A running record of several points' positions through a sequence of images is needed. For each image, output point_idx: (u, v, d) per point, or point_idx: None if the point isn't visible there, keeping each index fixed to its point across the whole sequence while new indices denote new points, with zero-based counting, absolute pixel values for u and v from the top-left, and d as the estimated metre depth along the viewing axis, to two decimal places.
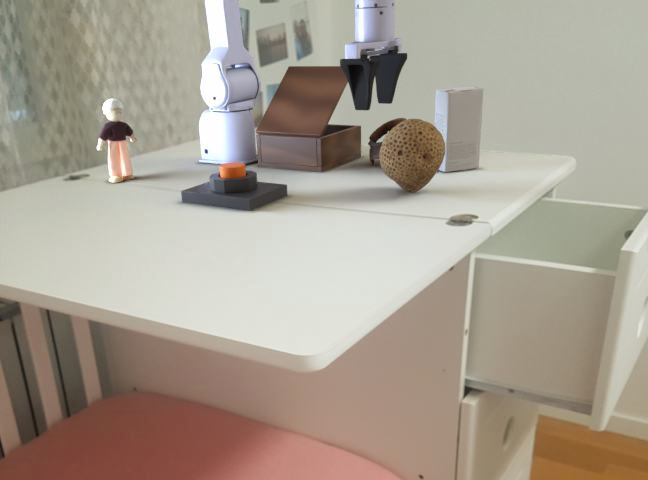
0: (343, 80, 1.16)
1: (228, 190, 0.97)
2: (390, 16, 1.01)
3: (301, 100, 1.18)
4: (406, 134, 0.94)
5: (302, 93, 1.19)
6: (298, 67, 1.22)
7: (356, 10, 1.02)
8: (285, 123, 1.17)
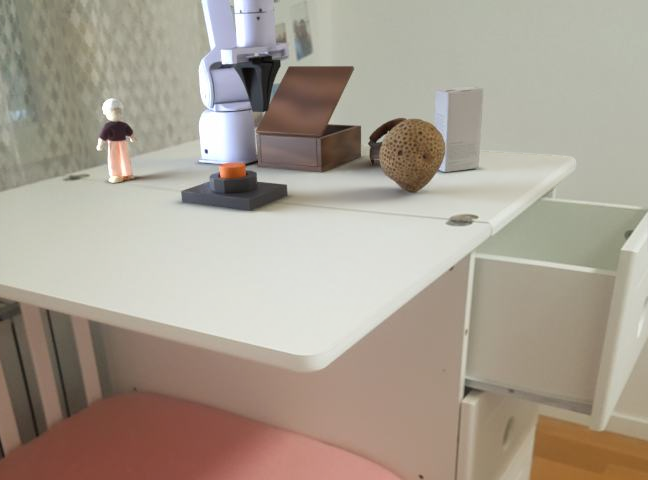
0: (343, 80, 1.16)
1: (228, 190, 0.97)
2: (268, 22, 1.01)
3: (301, 100, 1.18)
4: (406, 134, 0.94)
5: (302, 93, 1.19)
6: (298, 67, 1.22)
7: (235, 15, 1.02)
8: (285, 123, 1.17)
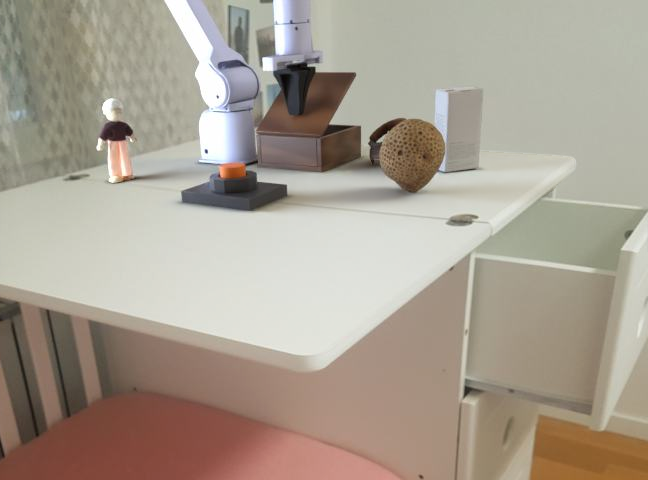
0: (345, 85, 1.17)
1: (228, 190, 0.97)
2: (305, 32, 1.10)
3: None
4: (406, 134, 0.94)
5: None
6: None
7: (275, 26, 1.10)
8: (285, 123, 1.17)
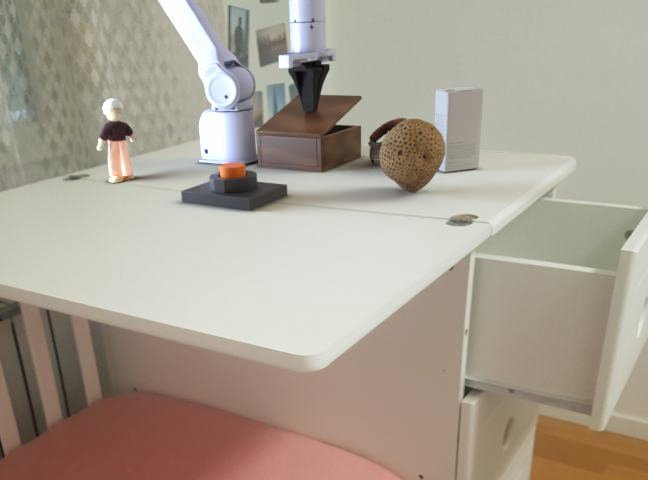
0: (350, 103, 1.19)
1: (228, 190, 0.97)
2: (320, 30, 1.13)
3: (306, 113, 1.20)
4: (406, 134, 0.94)
5: None
6: None
7: (290, 24, 1.14)
8: (287, 126, 1.18)
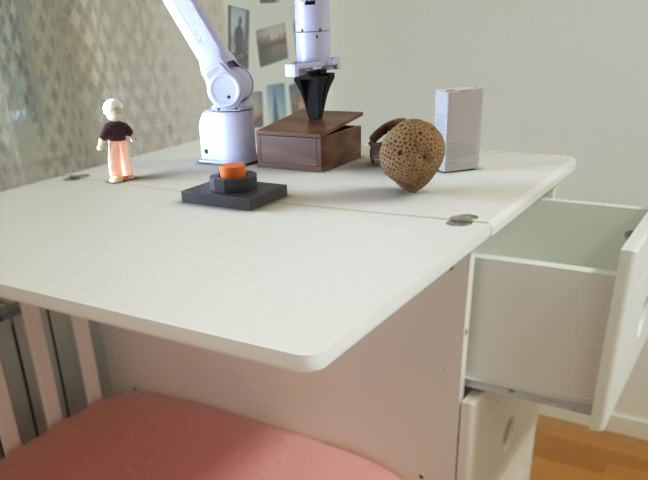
0: (351, 116, 1.21)
1: (228, 190, 0.97)
2: (325, 39, 1.15)
3: (307, 121, 1.21)
4: (406, 134, 0.94)
5: (309, 119, 1.22)
6: None
7: (296, 34, 1.16)
8: (287, 128, 1.18)
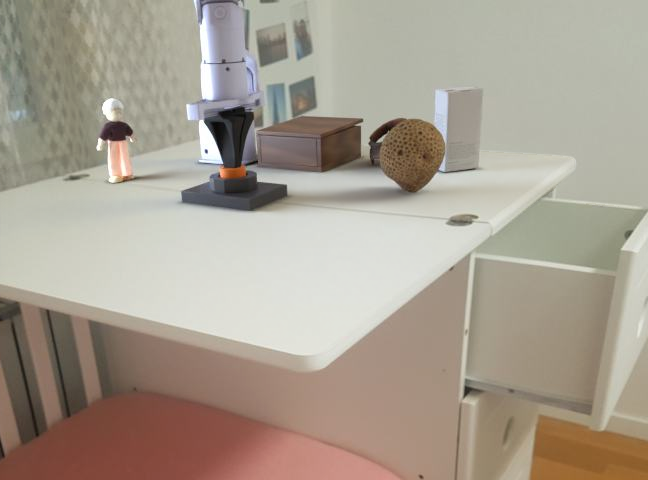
0: (352, 121, 1.21)
1: (228, 190, 0.97)
2: (239, 73, 0.92)
3: (308, 124, 1.21)
4: (406, 134, 0.94)
5: (310, 123, 1.22)
6: (310, 116, 1.28)
7: (203, 65, 0.93)
8: (288, 129, 1.18)
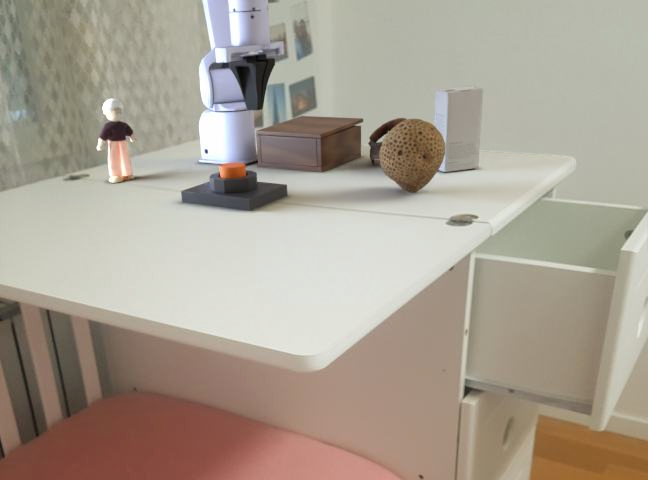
0: (352, 121, 1.21)
1: (228, 190, 0.97)
2: (262, 20, 1.02)
3: (308, 124, 1.21)
4: (406, 134, 0.94)
5: (310, 123, 1.22)
6: (310, 116, 1.28)
7: (229, 14, 1.03)
8: (288, 129, 1.18)
